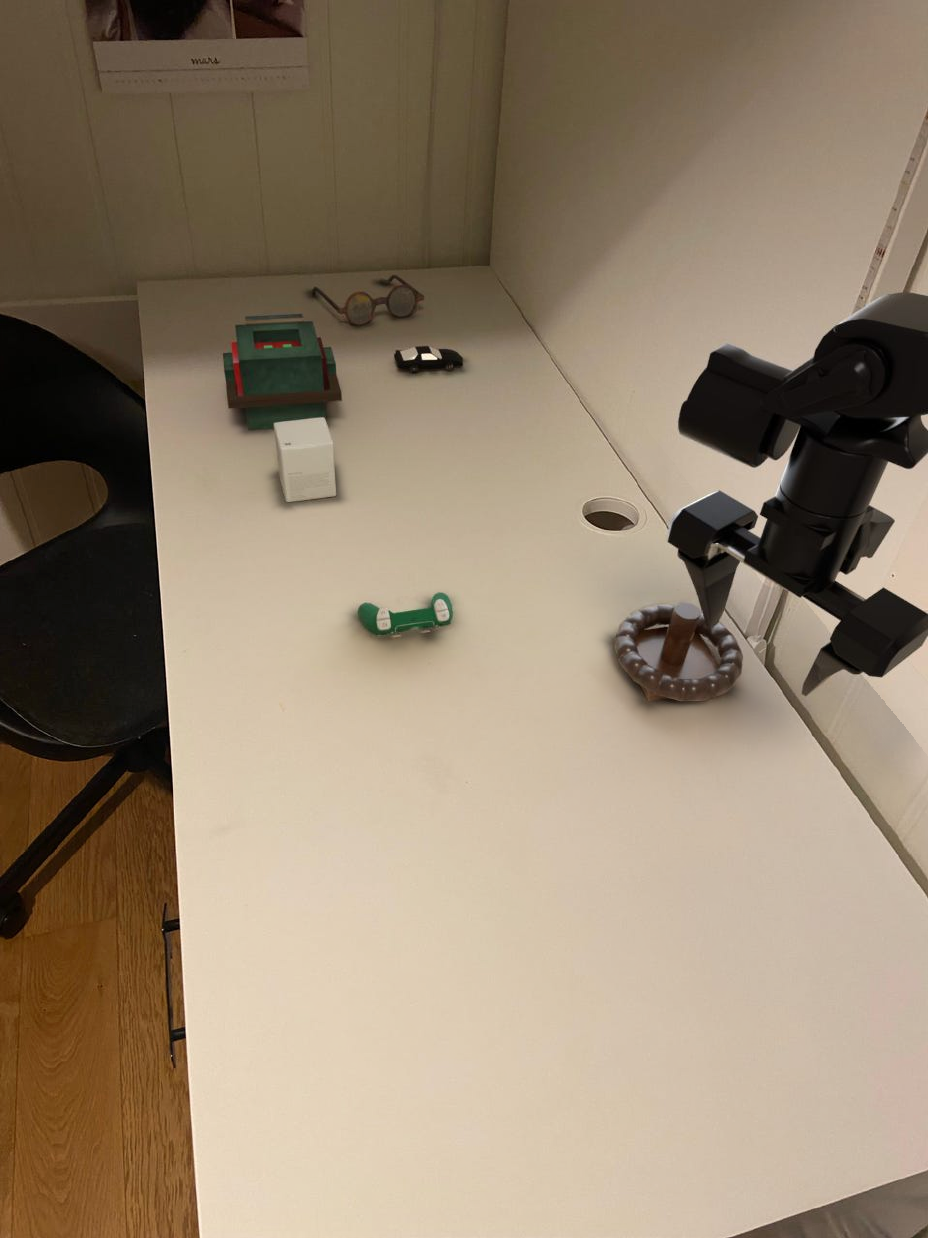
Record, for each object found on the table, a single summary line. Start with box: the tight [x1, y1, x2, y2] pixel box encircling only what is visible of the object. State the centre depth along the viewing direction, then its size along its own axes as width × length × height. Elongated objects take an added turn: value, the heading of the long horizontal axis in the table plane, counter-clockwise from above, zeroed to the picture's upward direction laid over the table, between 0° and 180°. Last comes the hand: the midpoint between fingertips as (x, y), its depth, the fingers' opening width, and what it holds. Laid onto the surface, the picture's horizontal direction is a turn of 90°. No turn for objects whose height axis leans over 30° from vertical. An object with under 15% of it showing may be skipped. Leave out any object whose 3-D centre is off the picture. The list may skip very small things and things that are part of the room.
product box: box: [273, 417, 337, 503], centre depth 98 cm, size 6×6×7 cm
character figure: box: [222, 313, 343, 431], centre depth 112 cm, size 14×14×20 cm
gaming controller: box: [357, 591, 454, 639], centre depth 82 cm, size 9×4×6 cm
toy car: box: [393, 345, 464, 375], centre depth 123 cm, size 10×4×3 cm, turn 104°
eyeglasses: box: [311, 274, 425, 326], centre depth 137 cm, size 15×15×5 cm
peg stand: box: [636, 601, 720, 702], centre depth 79 cm, size 8×8×7 cm
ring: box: [613, 604, 744, 702], centre depth 80 cm, size 12×12×2 cm
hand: (757, 657), depth 66 cm, fingers open, 9 cm apart
